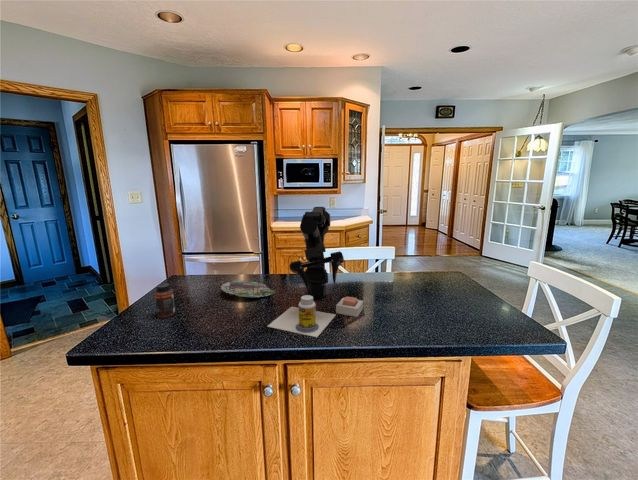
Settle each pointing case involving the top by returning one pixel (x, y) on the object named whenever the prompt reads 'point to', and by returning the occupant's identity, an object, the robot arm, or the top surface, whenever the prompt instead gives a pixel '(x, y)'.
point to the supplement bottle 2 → (307, 313)
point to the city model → (247, 289)
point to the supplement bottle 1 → (164, 301)
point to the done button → (350, 301)
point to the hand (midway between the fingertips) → (321, 286)
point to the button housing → (349, 308)
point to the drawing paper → (291, 322)
